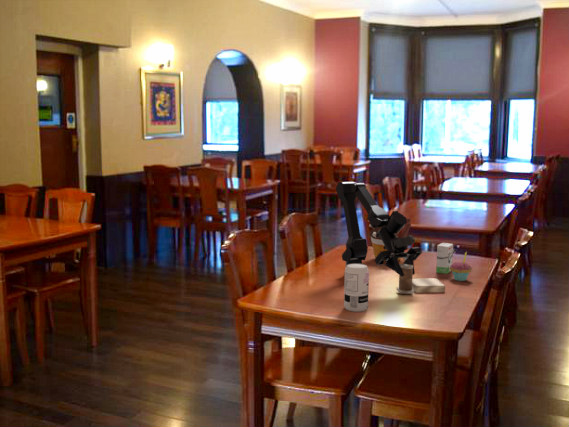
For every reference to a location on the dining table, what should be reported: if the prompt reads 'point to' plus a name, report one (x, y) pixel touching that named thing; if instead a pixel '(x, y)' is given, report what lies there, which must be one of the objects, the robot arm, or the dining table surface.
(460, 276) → the cupcake
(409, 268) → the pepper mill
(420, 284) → the birch block
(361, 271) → the supplement can
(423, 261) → the dining table surface
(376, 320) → the dining table surface
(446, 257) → the ink box
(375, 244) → the bucket of meat
